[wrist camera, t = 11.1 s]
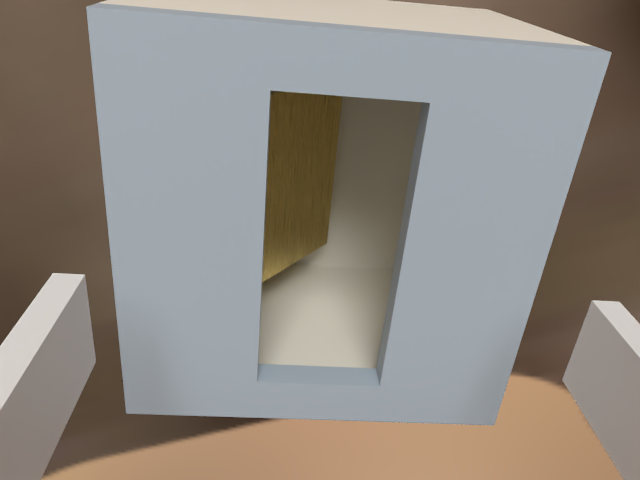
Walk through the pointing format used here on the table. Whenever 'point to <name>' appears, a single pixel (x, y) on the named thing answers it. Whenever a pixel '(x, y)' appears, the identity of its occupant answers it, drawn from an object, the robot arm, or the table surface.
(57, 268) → the table surface
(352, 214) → the coin box
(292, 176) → the block
